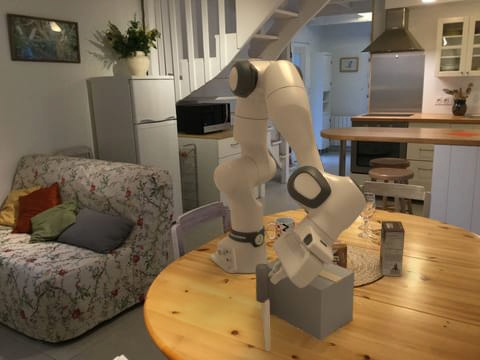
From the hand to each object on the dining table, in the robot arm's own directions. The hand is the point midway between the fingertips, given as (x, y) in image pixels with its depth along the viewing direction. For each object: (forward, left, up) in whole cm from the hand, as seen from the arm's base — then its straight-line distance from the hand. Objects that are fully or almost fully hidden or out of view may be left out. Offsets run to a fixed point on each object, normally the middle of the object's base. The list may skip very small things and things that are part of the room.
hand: (271, 280), depth 99 cm
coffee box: (-2, +59, -19) cm, 62 cm away
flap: (-7, +3, -17) cm, 19 cm away
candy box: (-8, +34, -19) cm, 40 cm away
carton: (-4, +18, -18) cm, 26 cm away
